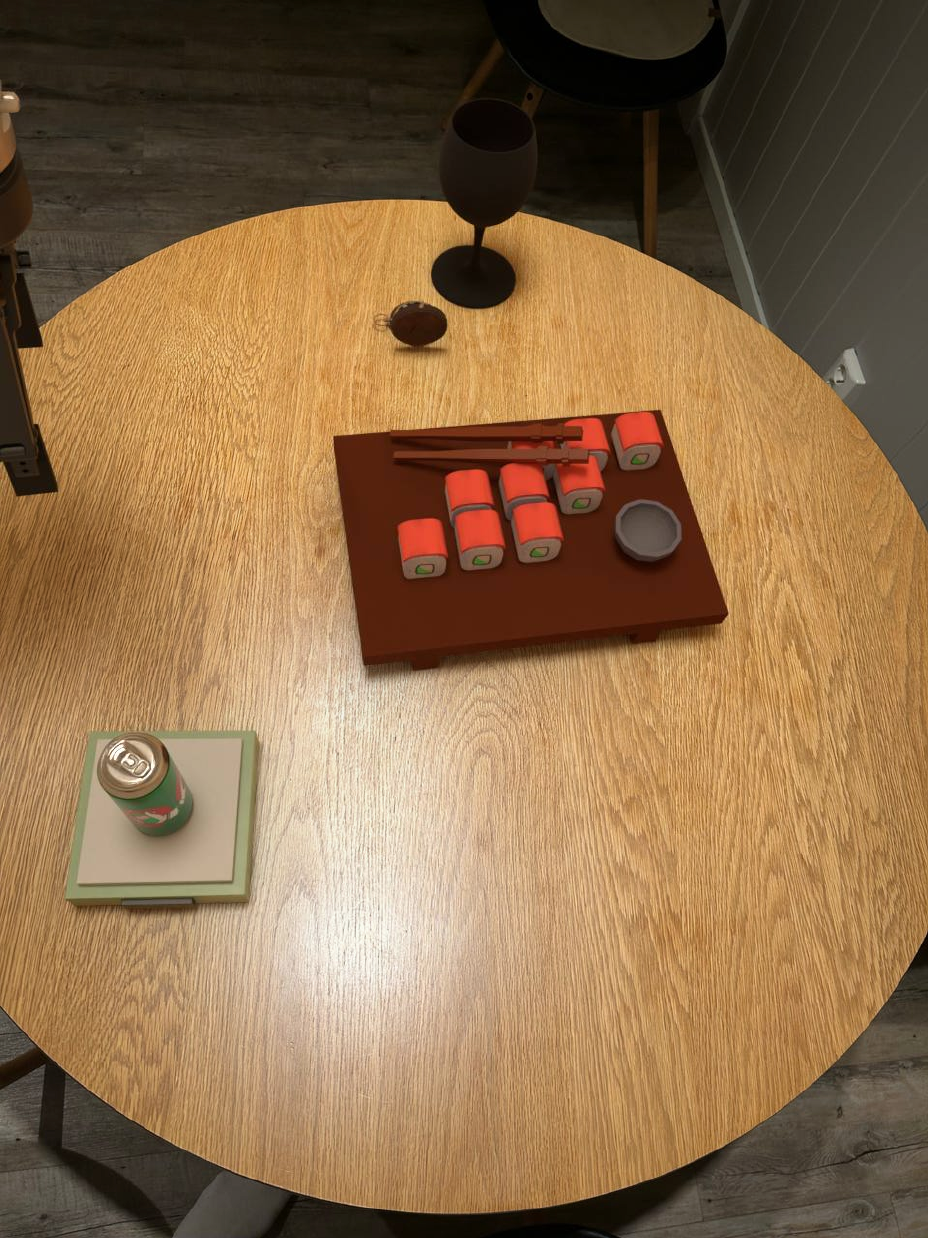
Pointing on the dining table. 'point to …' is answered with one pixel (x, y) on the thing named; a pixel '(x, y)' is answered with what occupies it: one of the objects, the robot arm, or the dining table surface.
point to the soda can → (145, 783)
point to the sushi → (520, 536)
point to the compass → (416, 322)
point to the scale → (182, 861)
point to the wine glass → (483, 195)
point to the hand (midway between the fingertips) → (30, 414)
